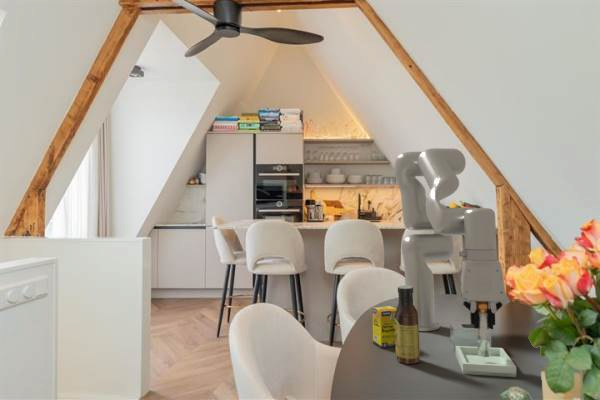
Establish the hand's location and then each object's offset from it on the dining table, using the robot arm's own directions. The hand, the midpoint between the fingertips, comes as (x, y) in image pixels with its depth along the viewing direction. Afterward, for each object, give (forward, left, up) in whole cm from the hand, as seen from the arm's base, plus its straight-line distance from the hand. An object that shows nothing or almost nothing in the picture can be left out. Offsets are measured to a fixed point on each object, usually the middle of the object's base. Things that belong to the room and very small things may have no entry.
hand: (482, 326), depth 111 cm
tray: (0, 0, -10) cm, 10 cm away
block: (-1, +15, -10) cm, 18 cm away
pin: (0, 0, -7) cm, 7 cm away
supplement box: (-25, +13, -10) cm, 30 cm away
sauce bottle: (-19, 0, -10) cm, 21 cm away
